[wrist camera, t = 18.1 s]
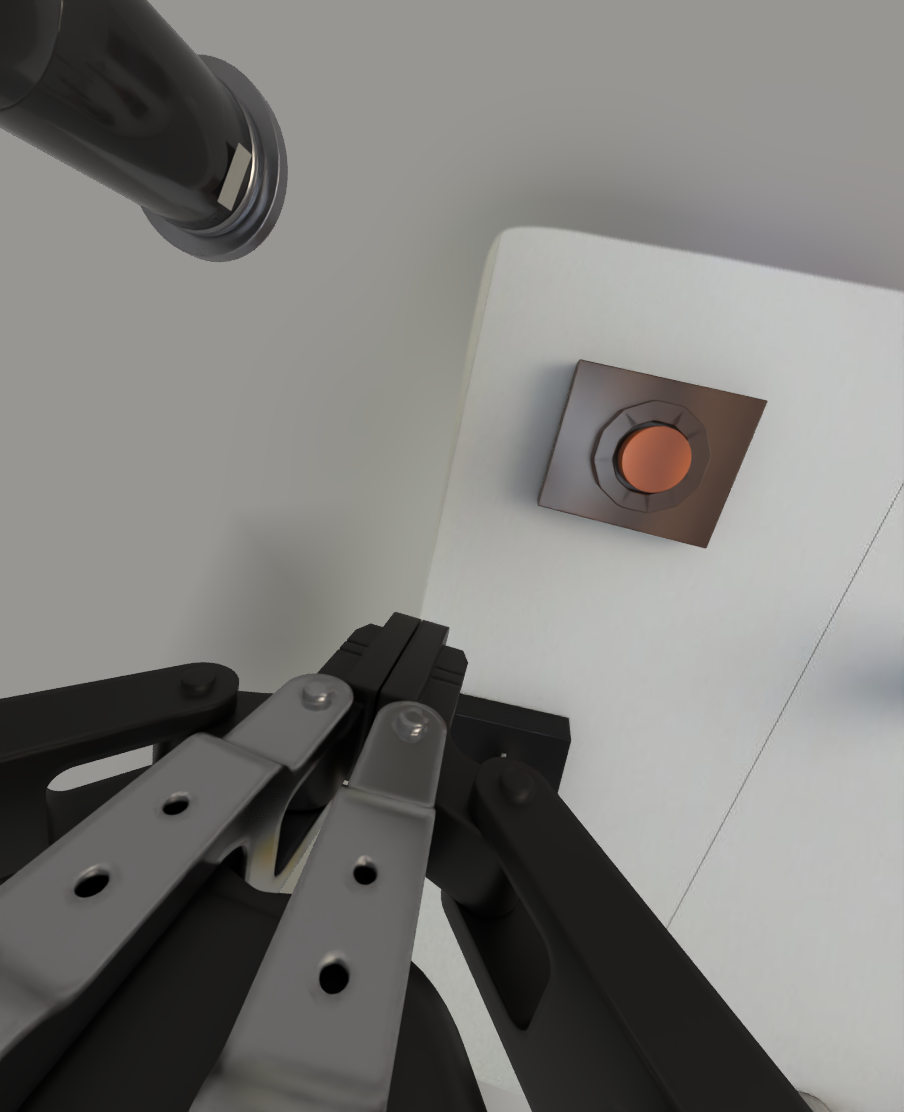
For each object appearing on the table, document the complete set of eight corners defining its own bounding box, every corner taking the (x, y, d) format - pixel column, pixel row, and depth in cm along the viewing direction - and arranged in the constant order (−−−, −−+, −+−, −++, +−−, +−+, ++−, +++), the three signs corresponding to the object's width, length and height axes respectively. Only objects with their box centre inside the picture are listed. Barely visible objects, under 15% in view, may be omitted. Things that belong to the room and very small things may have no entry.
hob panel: (456, 692, 41) (449, 713, 38) (569, 717, 40) (571, 741, 37) (436, 814, 45) (429, 842, 42) (538, 841, 44) (538, 871, 41)
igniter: (537, 500, 35) (537, 509, 32) (576, 363, 32) (582, 355, 28) (696, 541, 34) (715, 555, 30) (752, 402, 31) (782, 399, 27)
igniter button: (608, 480, 31) (612, 484, 29) (629, 419, 29) (634, 419, 28) (669, 495, 30) (677, 499, 28) (692, 434, 29) (702, 434, 27)
